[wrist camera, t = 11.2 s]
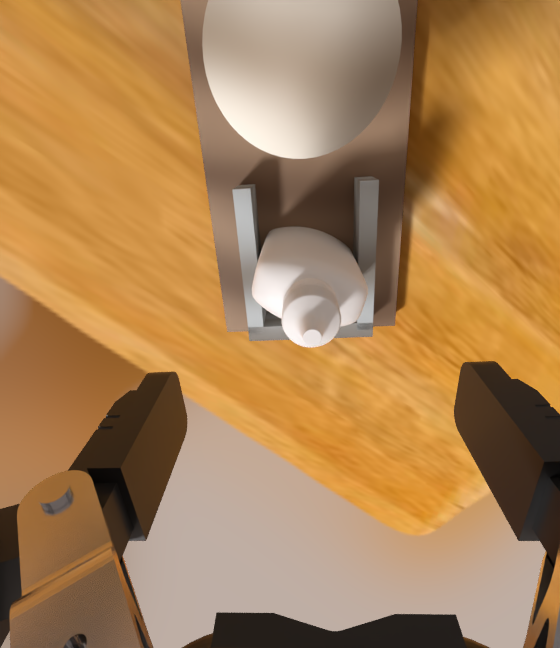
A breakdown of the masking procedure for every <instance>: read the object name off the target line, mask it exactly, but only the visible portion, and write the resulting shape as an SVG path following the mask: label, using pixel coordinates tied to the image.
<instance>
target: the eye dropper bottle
mask: <svg viewBox="0 0 560 648" xmlns="http://www.w3.org/2000/svg"><path fill="white" fill-rule="evenodd" d="M367 295H368V288H367V284H366V282H365V279H364V277H363V275H362V273H361V271H360V268H359V266H358V264H357V262H356V260H355V258H354V256H353V254H352V252H351V250H350V249H349V248H348V247H347V246H346V245H345V244H344V243H342V242H341V241H340V240H338V239H336V238H335V237H333V236H331V235H329V234H327V233H325V232H322V231H319V230H316V229H312V228H306V227H281V228H276V229H273V230H271V231H269V233H268V235H267V237H266V239H265V242H264V245H263V248H262V251H261V253H260V256H259V259H258V263H257V266H256V270H255V274H254V279H253V284H252V296H253V298H254V299H255V301H256V302H257V303H258V304H260V305H261V306H262V307H263V308H265V309H266V310H267V311H269V312H270V313H272V314H274V315H275V316H277V317H279V318H281V321H282V327H283V330H284V332H285V334H286V335H287V337H289V339H291V341H293V342H294V343H296V344H298V345H301V346H304V347H317V346H322V345H324V344H326V343H328V342H330V340H332V338H334V336H336V334H337V333H338V331H339V328H340V327H341V326H346V325H349V324H352V323H354V322H356V321H357V319H358V318H359V317H360V315H361V312H362V310H363V307H364V304H365V301H366V298H367Z"/></svg>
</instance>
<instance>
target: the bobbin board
mask: <svg viewBox="0 0 560 648" xmlns="http://www.w3.org/2000/svg"><path fill="white" fill-rule="evenodd" d="M417 2H418V0H181V7H182V14H183V22H184V29H185V36H186V43H187V50H188V57H189V64H190V71H191V78H192V85H193V92H194V99H195V106H196V113H197V121H198V128H199V135H200V142H201V149H202V156H203V163H204V170H205V177H206V184H207V191H208V198H209V205H210V212H211V220H212V227H213V234H214V241H215V248H216V255H217V262H218V269H219V276H220V283H221V290H222V297H223V304H224V311H225V319H226V326H227V332H238V331H249V340H250V341H264V340H291V339H289V337H287V335H286V334H285V332H284V330H283V327H282V321H281V318H279V317H277V316H275V315H274V314H272V313H270V312H269V311H267V310H266V309H265V308H263V307H262V306H261V305H260V304H258V303H257V302H256V301H255V299H254V298H253V296H252V284H253V279H254V274H255V270H256V266H257V263H258V259H259V256H260V253H261V251H262V248H263V245H264V242H265V239H266V237H267V235H268V233H269V231H271V230H273V229H276V228H281V227H306V228H312V229H316V230H319V231H322V232H325V233H327V234H329V235H331V236H333V237H335V238H336V239H338V240H340V241H341V242H342V243H344V244H345V245H346V246H347V247H348V248H349V249H350V250H351V252H352V254H353V256H354V258H355V260H356V262H357V264H358V266H359V268H360V271H361V273H362V275H363V277H364V279H365V282H366V284H367V288H368V295H367V298H366V301H365V304H364V307H363V310H362V312H361V315H360V317H359V318H358V319H357V321H356V322H354V323H352V324H349V325H346V326H341V327H340V328H339V331H338V333H337V334H336V336H334V338H347V337H372V335H373V326H395V316H396V302H397V287H398V273H399V259H400V244H401V230H402V216H403V202H404V187H405V173H406V159H407V145H408V130H409V116H410V102H411V88H412V73H413V59H414V45H415V31H416V16H417Z"/></svg>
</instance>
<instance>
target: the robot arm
mask: <svg viewBox="0 0 560 648" xmlns="http://www.w3.org/2000/svg"><path fill="white" fill-rule="evenodd" d="M454 417H455V423H456V426H457V429H458V431H459V433H460V435H461V437H462V439H463V440H464V442H465V444H466V446H467V448H468V449H469V451H470V453H471V455H472V457H473V459H474V460H475V462H476V464H477V466H478V468H479V470H480V471H481V473H482V475H483V477H484V479H485V480H486V482H487V484H488V486H489V488H490V490H491V491H492V493H493V495H494V497H495V499H496V500H497V502H498V504H499V506H500V507H501V509H502V511H503V513H504V515H505V517H506V519H507V521H508V522H509V524H510V526H511V528H512V530H513V531H514V533H515V535H516V537H517V539H518V540H519V541H540V542H541V543H542V545H543V547H544V548H545V550H546V552H545V555H544V557H543V560H542V565H541V569H540V574H539V579H538V584H537V589H536V593H535V598H534V603H533V607H532V612H531V616H530V621H529V626H528V630H527V635H526V639H525V643H524V646H523V648H560V414H559V413H558V412H557V411H556V410H555V409H554V408H553V407H550V404H549V403H548V402H547V400H546V399H545V398H544V397H543V396H542V395H541V394H540V393H539V392H538V391H537V390H535V389H534V388H532V387H530V386H529V385H527V384H525V383H524V382H522V381H520V380H519V379H511V378H510V377H509V376H508V374H507V373H506V372H505V371H504V370H503V369H502V368H501V367H500V365H499V364H498V363H496V362H494V361H486V362H465V363H463V365H462V367H461V371H460V376H459V382H458V388H457V394H456V400H455V406H454ZM186 431H187V413H186V409H185V404H184V400H183V395H182V391H181V386H180V382H179V378H178V375H177V373H176V372H154V373H148V374H147V375H146V376H145V378H144V380H143V381H142V382H141V384H140V386H139V387H138V389H137V390H133V391H129V392H128V393H126V394H125V395H124V396H123V397H121V398H120V399H119V400H117V401H116V402H115V403H114V405H113V406H112V407H111V409H110V410H109V412H108V413H107V415H106V418H104V419H103V421H102V422H101V423H100V425H99V426H98V430H96V431H95V432H94V434H93V435H92V437H91V438H90V440H89V441H88V442H87V444H86V445H85V447H84V448H83V450H82V451H81V453H80V454H79V455H78V457H77V458H76V460H75V461H74V463H73V464H72V465H71V467H70V468H69V470H68V471H65V472H61V473H58V474H55V475H53V476H51V477H49V478H47V479H45V480H43V481H42V482H40V483H39V484H37V485H36V486H35V487H34V488H32V490H30V491H29V492H28V493H27V495H26V496H25V497H24V498H23V500H22V501H21V503H20V504H17V505H14V506H10V507H6V508H3V509H0V647H1V646H2V644H3V642H4V640H5V638H6V636H7V635H8V633H9V631H10V648H153V645H152V642H151V639H150V637H149V634H148V631H147V628H146V625H145V622H144V619H143V616H142V613H141V609H140V607H139V603H138V600H137V597H136V595H135V591H134V588H133V585H132V582H131V579H130V576H129V573H128V569H127V566H126V563H125V560H124V558H123V553H124V551H125V548H126V546H127V543H128V541H146V539H147V537H148V534H149V531H150V529H151V526H152V523H153V521H154V518H155V515H156V513H157V510H158V507H159V505H160V502H161V499H162V497H163V494H164V491H165V489H166V486H167V483H168V481H169V478H170V475H171V473H172V470H173V468H174V465H175V462H176V460H177V457H178V454H179V452H180V449H181V446H182V443H183V441H184V438H185V435H186ZM182 648H489V647H487V646H485V645H482V644H480V643H478V642H476V641H474V640H471V639H468V638H465V637H463V635H462V632H461V629H460V626H459V623H458V620H457V617H456V615H430V614H427V615H426V614H394V615H391V616H388V617H384V618H381V619H378V620H375V621H372V622H368V623H365V624H362V625H358V626H355V627H352V628H349V629H345V630H342V631H328V630H325V629H322V628H319V627H316V626H313V625H309V624H306V623H303V622H299V621H297V620H294V619H290V618H287V617H284V616H281V615H278V614H275V613H216V619H215V625H214V631H213V633H212V634H209V635H206V636H203V637H202V638H199V639H197V640H195V641H193V642H191V643H189V644H187V645H186V646H184V647H182Z"/></svg>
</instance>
